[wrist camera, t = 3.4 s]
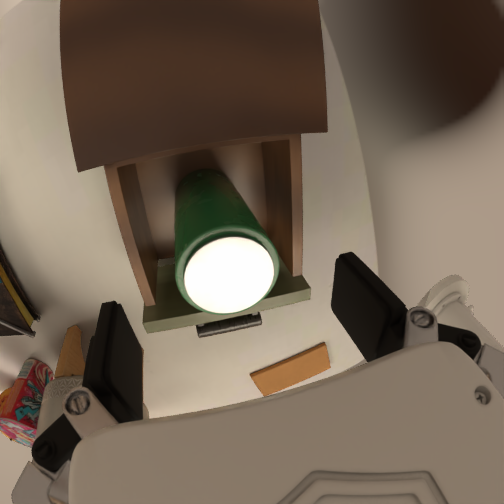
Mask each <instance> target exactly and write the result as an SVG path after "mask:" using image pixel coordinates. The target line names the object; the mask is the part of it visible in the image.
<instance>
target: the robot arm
mask: <svg viewBox="0 0 504 504" xmlns="http://www.w3.org/2000/svg"><path fill="white" fill-rule="evenodd" d="M405 306H406V305H405V304H404V303H403V302H402V301H401V300H400V299H399V298H398V297H397V296H396V295H395V294H394V293H393V292H392V291H391V290H390V289H389V288H388V287H387V286H386V285H385V284H384V282H383V281H382V280H380V278H379V277H378V276H377V275H376V274H375V273H374V272H373V271H372V270H371V269H370V268H369V267H368V266H367V265H366V264H364V263H363V262H362V261H361V260H360V259H359V258H358V257H357V256H356V255H355V254H354V253H353V252H348V253H344V254H340V255H339V258H337V259H336V262H335V273H334V282H333V291H332V300H331V308H332V311H333V313H334V314H335V315H336V317H337V318H338V320H339V321H340V323H341V324H342V326H343V327H344V328H345V330H346V331H347V333H348V334H349V336H350V337H351V339H352V340H353V342H354V343H355V344H356V346H357V347H358V349H359V350H360V352H361V353H362V355H363V356H364V358H365V359H366V361H367V362H368V363H365V364H363V365H360V366H358V367H356V368H353V369H350V370H347V371H345V372H342V373H339V374H336V375H334V376H331V377H328V378H325V379H322V380H319V381H316V382H313V383H310V384H307V385H303V386H300V387H297V388H294V389H290V390H287V391H283V392H280V393H276V394H273V395H269V396H265V397H261V398H257V399H253V400H249V401H245V402H241V403H237V404H232V405H228V406H223V407H218V408H213V409H208V410H203V411H197V412H191V413H185V414H179V415H173V416H166V417H160V418H152V419H144V420H143V393H142V363H143V353H142V348H141V346H140V344H139V342H138V340H137V338H136V336H135V334H134V331H133V329H132V327H131V325H130V323H129V321H128V319H127V316H126V314H125V312H124V310H123V308H122V305H121V304H117V303H116V301H111V302H105V303H102V305H101V309H100V313H99V318H98V322H97V327H96V331H95V336H92V337H91V339H90V343H89V348H88V353H87V358H86V364H85V369H84V375H83V382H82V387H76V388H73V389H71V390H70V391H68V392H67V393H66V395H65V396H64V398H63V401H62V410H63V412H64V413H63V414H62V415H61V416H60V417H59V418H58V419H57V420H56V421H55V422H54V423H52V424H51V425H50V426H49V427H48V428H47V429H46V430H45V431H44V432H43V433H42V434H41V435H40V436H39V437H37V439H36V440H35V441H34V443H33V445H32V457H33V460H32V462H30V461H28V463H27V465H26V466H25V468H24V470H23V472H22V474H21V476H20V477H19V479H18V481H17V483H16V485H15V487H14V489H13V492H12V502H13V504H504V348H503V346H502V345H501V344H500V343H499V342H498V341H497V340H496V339H495V338H494V337H493V336H492V335H491V334H490V333H489V331H488V330H487V329H486V328H485V327H484V326H483V325H482V324H481V323H480V322H479V321H478V320H477V319H476V318H475V317H474V316H473V315H474V314H473V312H472V310H473V309H474V307H473V305H470V306H468V307H466V306H465V305H464V304H463V296H462V295H461V294H460V293H458V292H454V293H451V294H449V295H448V296H446V297H445V298H444V299H442V300H441V301H440V302H439V303H438V304H437V305H436V306H435V308H434V309H433V310H432V311H431V310H429V309H427V308H424V307H413V308H411V309H409V310H407V308H406V307H405Z"/></svg>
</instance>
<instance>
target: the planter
mask: <svg viewBox="0 0 504 504" xmlns="http://www.w3.org/2000/svg"><path fill="white" fill-rule="evenodd" d="M81 334H82V331H81V330H80V329H79V328H78V327H77V326H76V325H75V326H72V327H70V328H68V329H67V333H66V336H65V339H64V342H63V346H62V349H61V353H60V356H59V360H58V364H57V368H56V371H55V375H54V378H55V379H54V380H52V381H50V382H49V383H48V384H47V385H46V387H45V390H44V394H43V399H42V403H41V408H40V413H39V418H38V424H37V430H36V436H35V440H36V439H37V437H39V436H40V435H41V434H42V433H43V432H44V431H45V430H46V429H47V428H48V427H49V426H50V425H51V424H52V423H54V422H55V421H56V420H57V419H58V418H59V417H60V416H61V415H62V414H63V413H64V412H63V410H62V401H63V398H64V396H65V395H66V393H67V392H68V391H70V390H71V389H73V388H76V387H82V382H83V375H84V369H85V361H84V358H83V354H82V349H81ZM141 348H142V347H141ZM142 353H143V354H144V350H143V349H142ZM142 393H143V363H142ZM144 419H149V412H148V409H147V407H146V406H145V404H144V403H143V420H144Z"/></svg>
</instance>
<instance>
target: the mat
mask: <svg viewBox="0 0 504 504" xmlns="http://www.w3.org/2000/svg"><path fill="white" fill-rule="evenodd" d="M329 368H331V367H330V362H329V357H328V353H327V348H326V344H325V343H322V344H320V345H318V346H316V347H313V348H311V349H309V350H307V351H305V352H302V353H300V354H298V355H296V356H293V357H291V358H289V359H287V360H284V361H282V362H279V363H277V364H275V365H272V366H270V367H267V368H265V369H262V370H260V371H257V372H255V373H252V374H250V376H251V378H252V380H253V381H254V383H255V384H256V386H257V387H258V388H259V390H260V391H261V393H262V394H263V396H267V395H270V394H272V393H275V392H277V391H280V390H282V389H285V388H287V387H289V386H292V385H294V384H296V383H299V382H301V381H303V380H306V379H308V378H310V377H312V376H315V375H317V374H319V373H321V372H323V371H325V370H327V369H329Z"/></svg>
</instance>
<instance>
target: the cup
mask: <svg viewBox="0 0 504 504" xmlns="http://www.w3.org/2000/svg"><path fill="white" fill-rule="evenodd" d="M52 380H53V372H52V370H51V369H50V368H49V367H48V366H47V365H45V364H44V363H42V362H40V361H38V360H35V359H28V360H26V361H25V363H24V365H23V367H22V369H21V371H20V373H19V375H18V377H17V379H16V381H15V383H14V385H13V387H12V389H11V391H10V394H9V396H8V398H7V400H6V403H5V405H4V407H3V410H2V412H1V415H0V430H1V431H2V432H3V433H5V434H6V435H7V436H9V437H10V438H12V439H13V440H15V441H17V442H19V443H21V444H23V445H25V446H28V447H30V448H32V445H33V443H34V441H35V436H36V430H37V424H38V418H39V413H40V408H41V403H42V399H43V394H44V390H45V387H46V385H47V384H48V383H49V382H50V381H52Z"/></svg>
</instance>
